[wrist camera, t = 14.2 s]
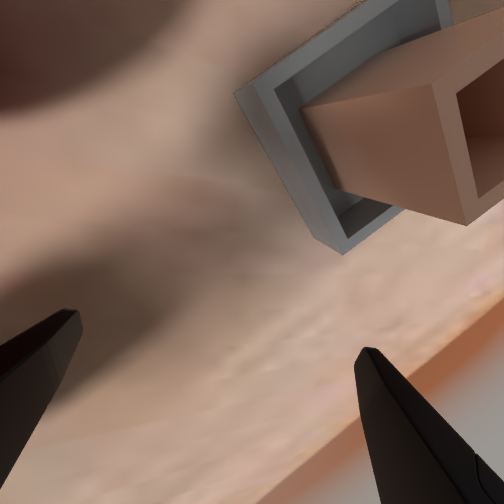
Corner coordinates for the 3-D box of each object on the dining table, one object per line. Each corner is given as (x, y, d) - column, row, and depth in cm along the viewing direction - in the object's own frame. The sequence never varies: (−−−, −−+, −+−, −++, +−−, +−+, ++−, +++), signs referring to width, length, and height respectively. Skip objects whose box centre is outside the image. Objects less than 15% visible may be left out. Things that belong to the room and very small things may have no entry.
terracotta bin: (335, 188, 21) (466, 226, 12) (298, 109, 19) (431, 83, 10) (401, 140, 22) (577, 142, 13) (374, 54, 19) (572, -20, 10)
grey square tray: (313, 237, 23) (342, 255, 20) (233, 93, 18) (252, 82, 15) (430, 151, 24) (478, 153, 20) (384, -14, 19) (438, -50, 15)
